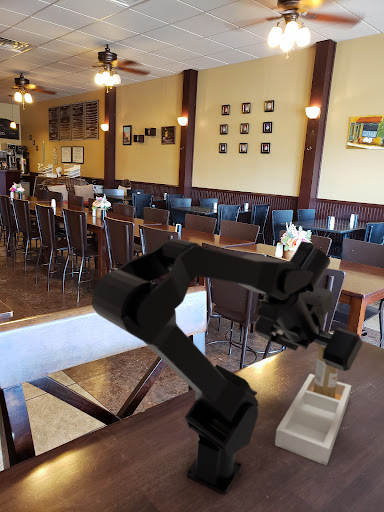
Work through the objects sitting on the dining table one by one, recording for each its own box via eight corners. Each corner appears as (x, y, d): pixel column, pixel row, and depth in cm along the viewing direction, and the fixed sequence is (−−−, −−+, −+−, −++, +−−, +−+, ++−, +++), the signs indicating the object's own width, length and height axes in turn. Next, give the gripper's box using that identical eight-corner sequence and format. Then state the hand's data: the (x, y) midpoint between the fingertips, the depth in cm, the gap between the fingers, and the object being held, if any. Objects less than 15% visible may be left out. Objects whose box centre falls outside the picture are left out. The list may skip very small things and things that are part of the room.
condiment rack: (326, 465, 62) (329, 448, 61) (274, 445, 66) (276, 429, 65) (349, 397, 82) (351, 384, 82) (308, 385, 86) (310, 372, 86)
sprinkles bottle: (337, 405, 78) (346, 341, 75) (313, 402, 78) (321, 338, 76) (332, 393, 82) (340, 332, 80) (309, 390, 83) (317, 330, 80)
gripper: (366, 288, 61) (384, 339, 70) (269, 264, 74) (295, 309, 84) (334, 346, 57) (357, 392, 67) (238, 310, 71) (269, 352, 80)
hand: (317, 357), depth 74 cm, fingers open, 9 cm apart
